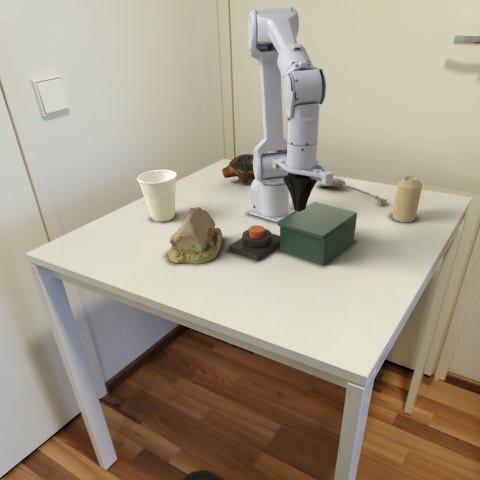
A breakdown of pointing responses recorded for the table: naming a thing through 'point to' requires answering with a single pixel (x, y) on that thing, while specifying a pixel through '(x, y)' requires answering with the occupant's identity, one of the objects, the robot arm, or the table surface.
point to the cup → (159, 193)
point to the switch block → (255, 245)
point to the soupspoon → (342, 184)
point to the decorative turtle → (240, 168)
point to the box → (317, 243)
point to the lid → (317, 220)
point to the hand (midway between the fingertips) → (299, 209)
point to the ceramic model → (195, 239)
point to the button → (256, 232)
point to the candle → (407, 199)
